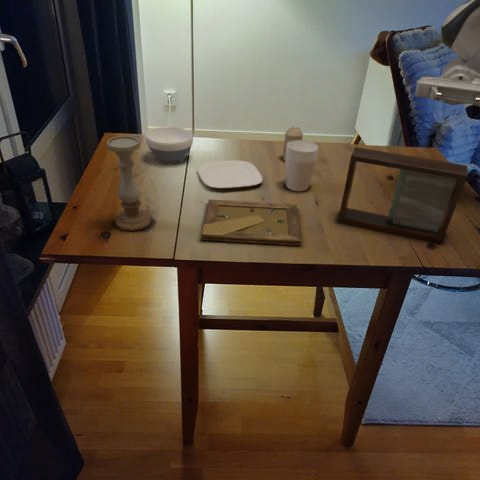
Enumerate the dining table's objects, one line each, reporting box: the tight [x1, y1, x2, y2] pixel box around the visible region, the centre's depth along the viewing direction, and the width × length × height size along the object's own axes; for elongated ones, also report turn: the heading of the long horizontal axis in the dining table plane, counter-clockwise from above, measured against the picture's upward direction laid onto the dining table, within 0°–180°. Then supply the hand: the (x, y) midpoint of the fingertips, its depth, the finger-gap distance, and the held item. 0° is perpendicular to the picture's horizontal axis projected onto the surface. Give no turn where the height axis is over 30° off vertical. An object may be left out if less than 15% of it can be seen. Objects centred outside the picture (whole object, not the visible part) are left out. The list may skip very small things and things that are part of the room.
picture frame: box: [201, 199, 302, 246], centre depth 117 cm, size 19×2×24 cm
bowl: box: [145, 126, 194, 165], centre depth 145 cm, size 14×14×8 cm
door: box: [387, 169, 408, 219], centre depth 115 cm, size 4×11×14 cm, turn 70°
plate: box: [196, 160, 264, 190], centre depth 137 cm, size 18×18×2 cm
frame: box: [337, 146, 469, 244], centre depth 114 cm, size 6×26×18 cm, turn 70°
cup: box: [284, 139, 319, 192], centre depth 132 cm, size 9×9×12 cm
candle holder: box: [105, 135, 152, 232], centre depth 109 cm, size 9×9×20 cm
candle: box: [282, 126, 304, 162], centre depth 147 cm, size 6×6×10 cm
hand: (457, 99), depth 111 cm, fingers open, 8 cm apart
